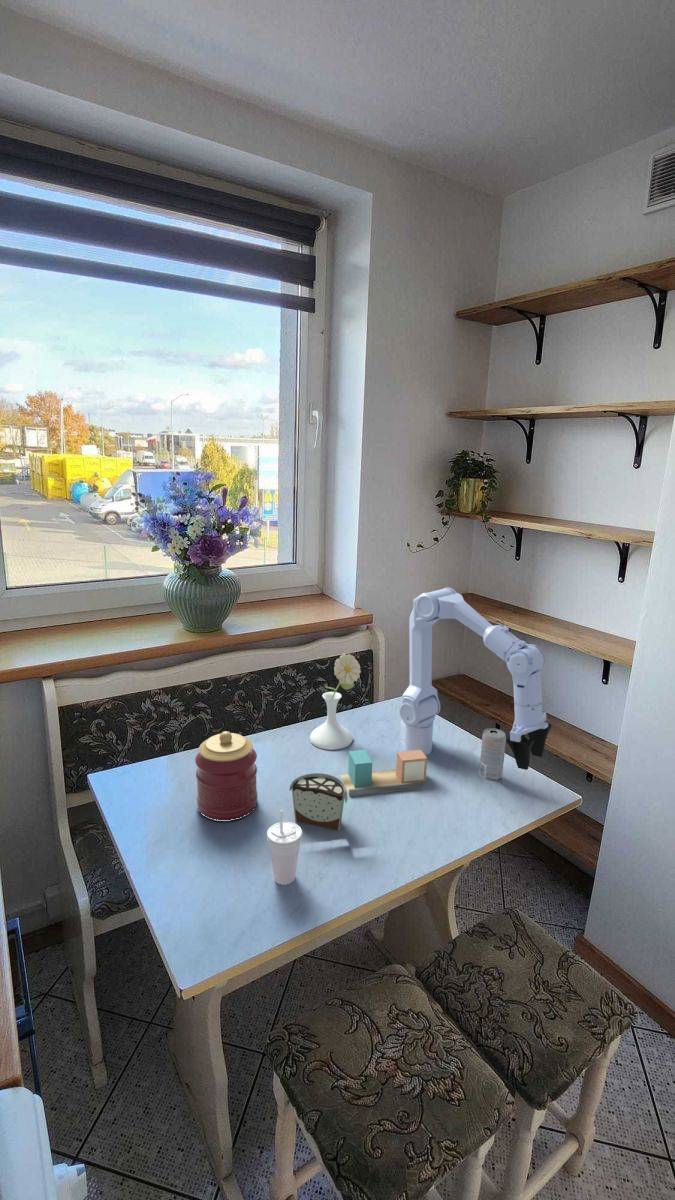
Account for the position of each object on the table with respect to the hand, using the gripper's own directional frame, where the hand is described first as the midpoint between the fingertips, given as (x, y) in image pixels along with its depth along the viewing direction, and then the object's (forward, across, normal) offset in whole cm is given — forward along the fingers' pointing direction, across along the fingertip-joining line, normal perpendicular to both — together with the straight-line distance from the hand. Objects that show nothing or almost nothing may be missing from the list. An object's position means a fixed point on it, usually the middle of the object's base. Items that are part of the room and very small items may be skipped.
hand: (530, 761), depth 132 cm
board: (+6, -16, +30) cm, 34 cm away
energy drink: (+9, +5, +12) cm, 16 cm away
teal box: (+5, -19, +33) cm, 39 cm away
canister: (+4, -44, +50) cm, 67 cm away
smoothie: (+8, -52, +25) cm, 58 cm away
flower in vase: (+3, -8, +51) cm, 51 cm away
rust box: (+6, -10, +25) cm, 28 cm away
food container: (+7, -35, +31) cm, 47 cm away
